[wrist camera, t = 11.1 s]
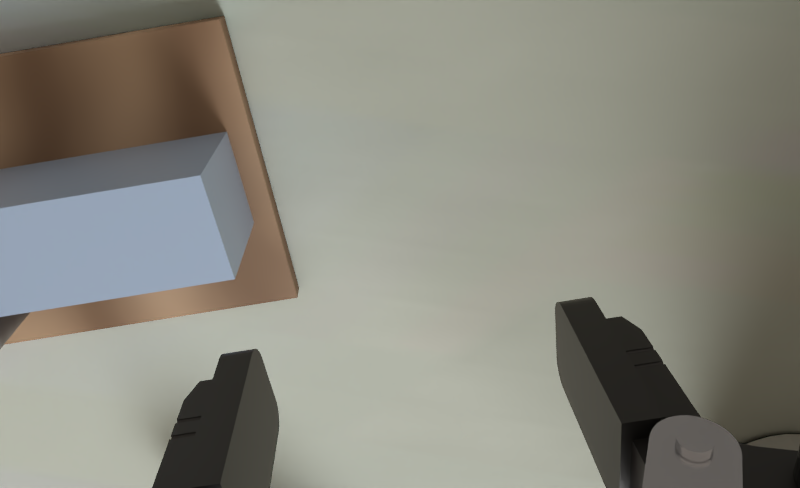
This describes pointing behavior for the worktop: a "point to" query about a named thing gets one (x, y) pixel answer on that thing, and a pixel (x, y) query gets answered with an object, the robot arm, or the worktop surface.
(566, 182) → the worktop surface
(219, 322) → the worktop surface
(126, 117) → the board
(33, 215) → the rectangular block
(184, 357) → the worktop surface
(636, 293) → the worktop surface
